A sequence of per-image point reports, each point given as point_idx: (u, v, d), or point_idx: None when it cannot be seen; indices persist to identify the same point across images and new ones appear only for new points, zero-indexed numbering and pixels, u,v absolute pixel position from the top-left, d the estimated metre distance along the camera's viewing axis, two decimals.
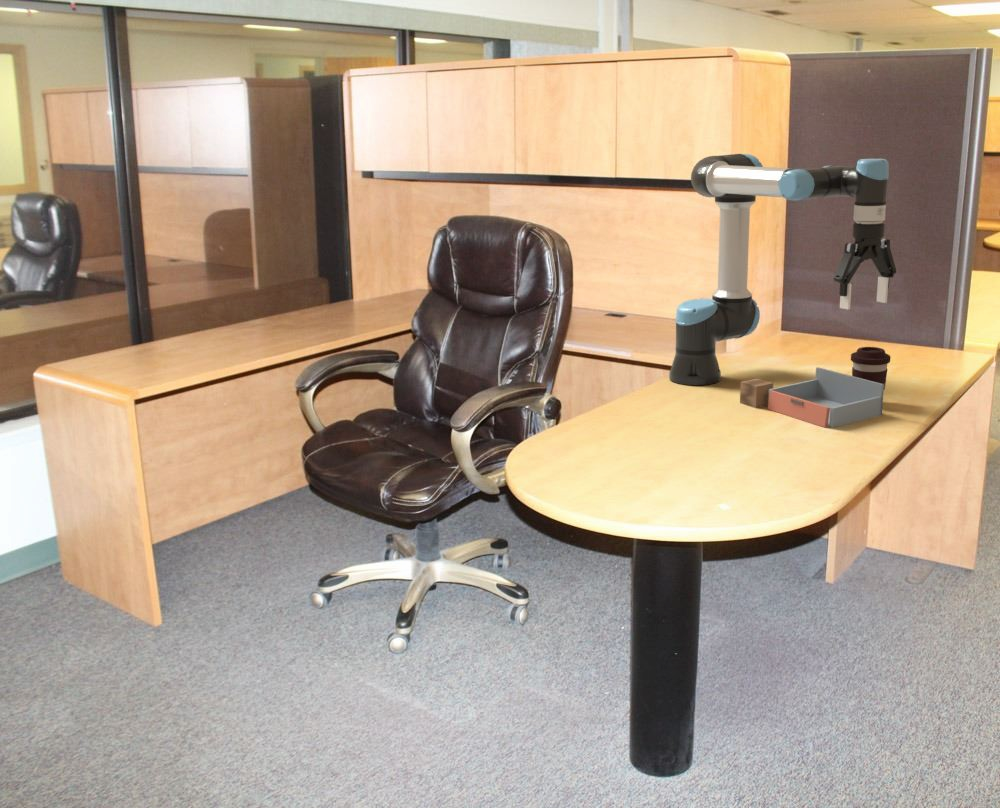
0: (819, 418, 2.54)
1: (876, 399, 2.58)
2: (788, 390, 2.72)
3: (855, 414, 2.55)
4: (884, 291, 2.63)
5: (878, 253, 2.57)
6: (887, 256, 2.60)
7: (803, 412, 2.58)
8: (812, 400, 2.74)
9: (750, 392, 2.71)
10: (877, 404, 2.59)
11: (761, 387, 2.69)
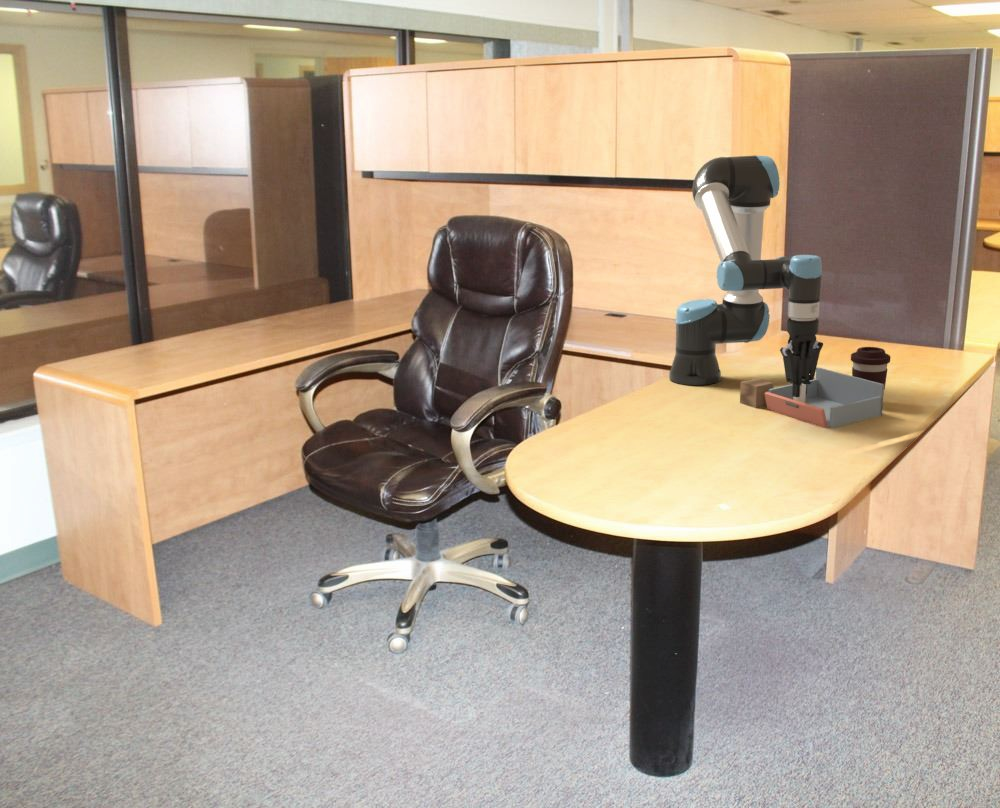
0: (817, 420, 2.53)
1: (876, 399, 2.58)
2: (788, 390, 2.72)
3: (855, 414, 2.55)
4: None
5: (809, 350, 2.55)
6: (814, 358, 2.58)
7: (801, 414, 2.58)
8: (812, 400, 2.74)
9: (750, 392, 2.71)
10: (877, 404, 2.59)
11: (761, 387, 2.69)
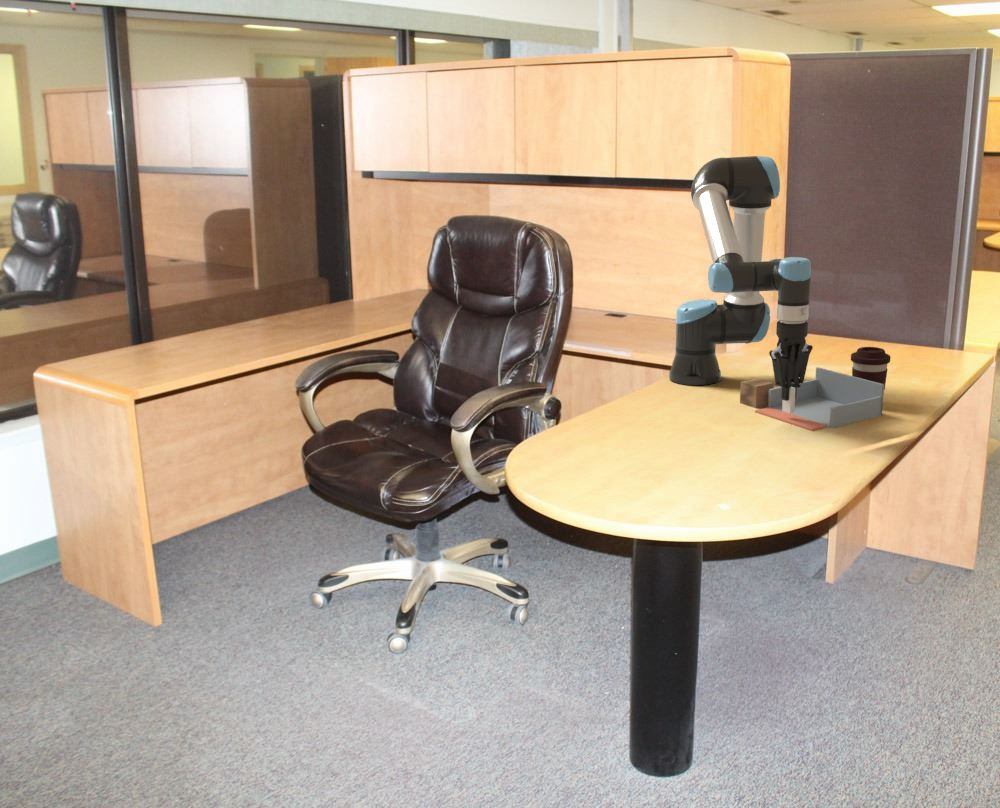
0: None
1: (876, 399, 2.58)
2: None
3: (855, 414, 2.55)
4: None
5: (799, 353, 2.53)
6: (803, 361, 2.56)
7: None
8: (812, 400, 2.74)
9: (750, 392, 2.71)
10: (877, 404, 2.59)
11: (761, 387, 2.69)
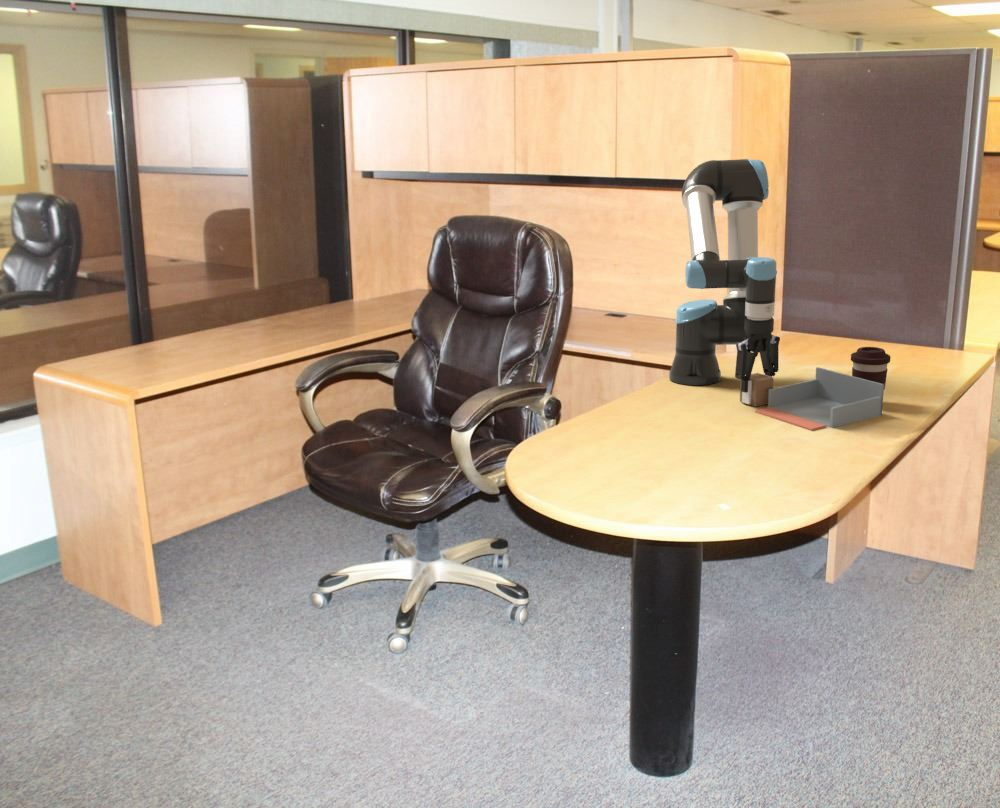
0: None
1: (876, 399, 2.58)
2: (788, 390, 2.72)
3: (855, 414, 2.55)
4: None
5: (767, 347, 2.69)
6: (774, 352, 2.72)
7: None
8: (812, 400, 2.74)
9: None
10: (877, 404, 2.59)
11: (761, 382, 2.70)
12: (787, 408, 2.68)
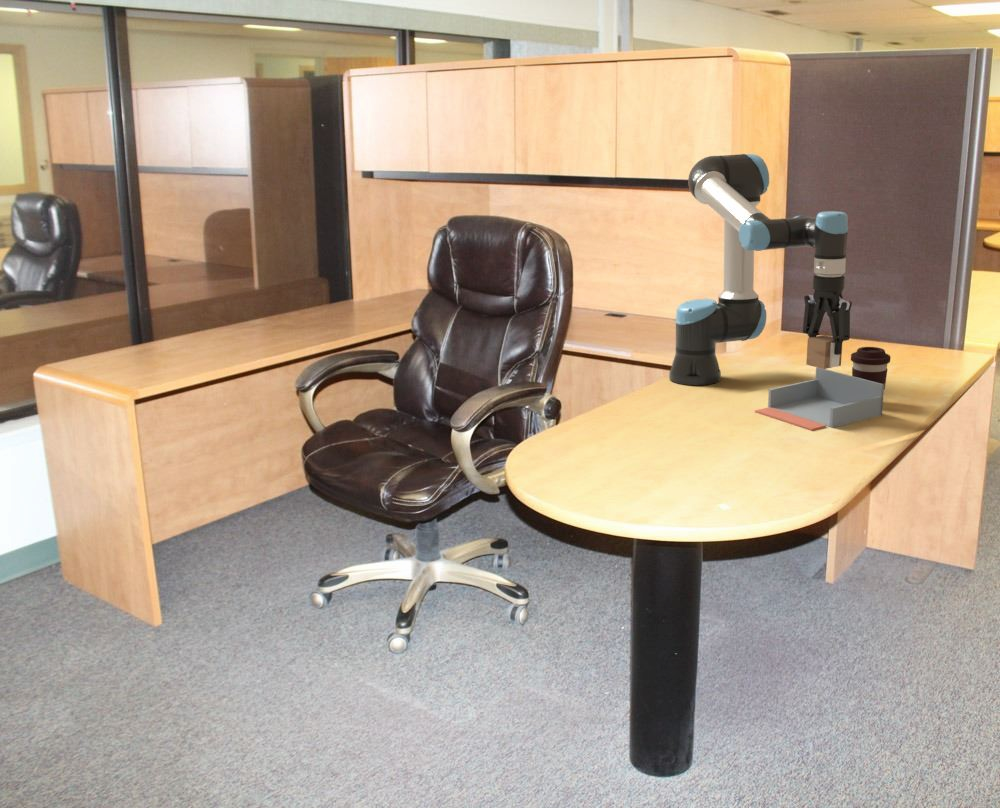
0: None
1: (876, 399, 2.58)
2: (788, 390, 2.72)
3: (855, 414, 2.55)
4: None
5: (827, 308, 2.55)
6: None
7: None
8: (812, 400, 2.74)
9: None
10: (877, 404, 2.59)
11: (812, 340, 2.59)
12: (787, 408, 2.68)
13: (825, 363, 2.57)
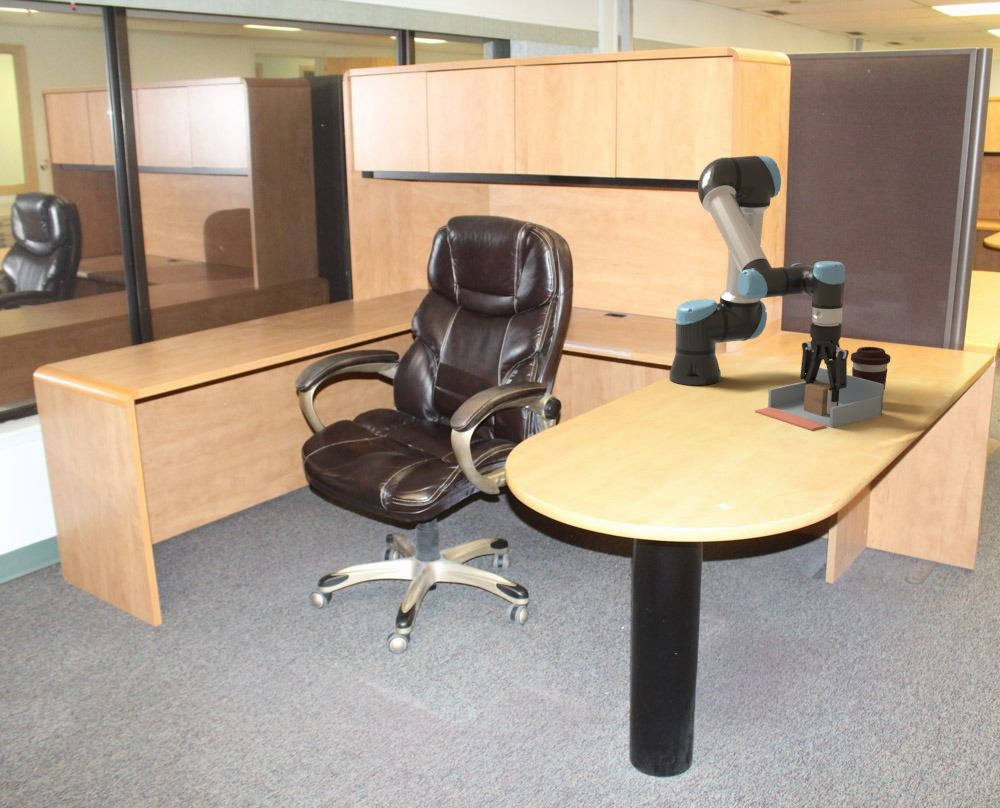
0: None
1: (876, 399, 2.58)
2: (788, 390, 2.72)
3: (855, 414, 2.55)
4: None
5: (824, 356, 2.58)
6: None
7: None
8: None
9: None
10: (877, 404, 2.59)
11: (810, 387, 2.63)
12: (787, 408, 2.68)
13: (822, 410, 2.60)
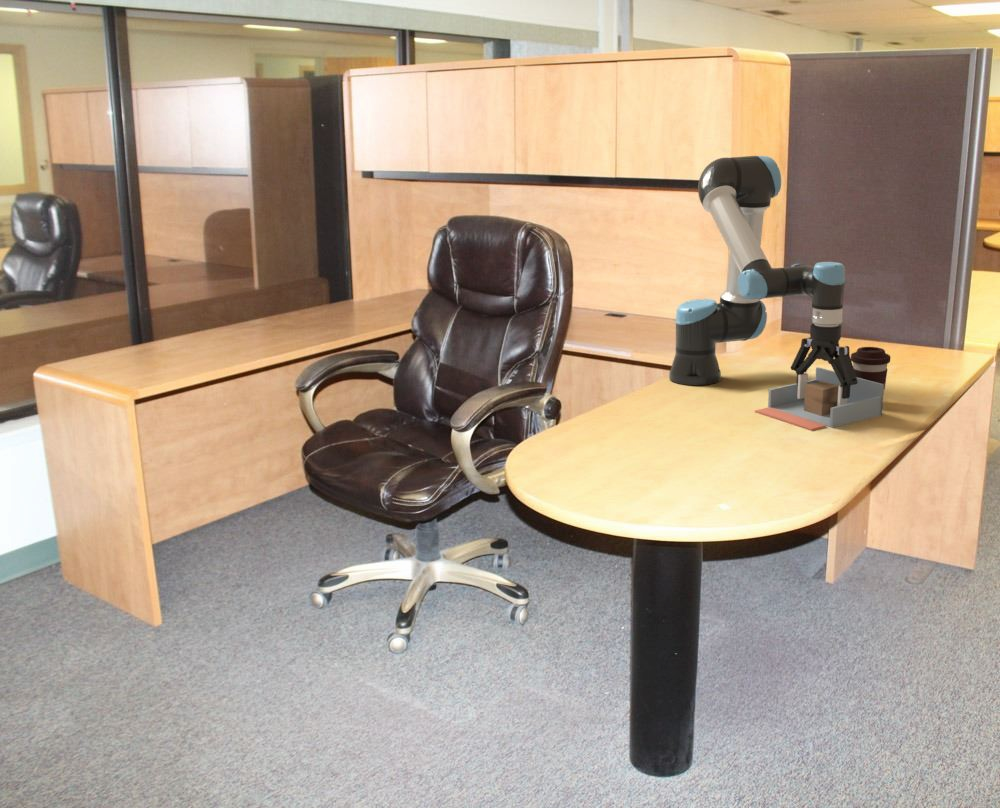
0: None
1: (876, 399, 2.58)
2: (788, 390, 2.72)
3: (855, 414, 2.55)
4: None
5: (826, 356, 2.58)
6: None
7: None
8: None
9: None
10: (877, 404, 2.59)
11: (810, 387, 2.63)
12: (787, 408, 2.68)
13: (822, 410, 2.60)
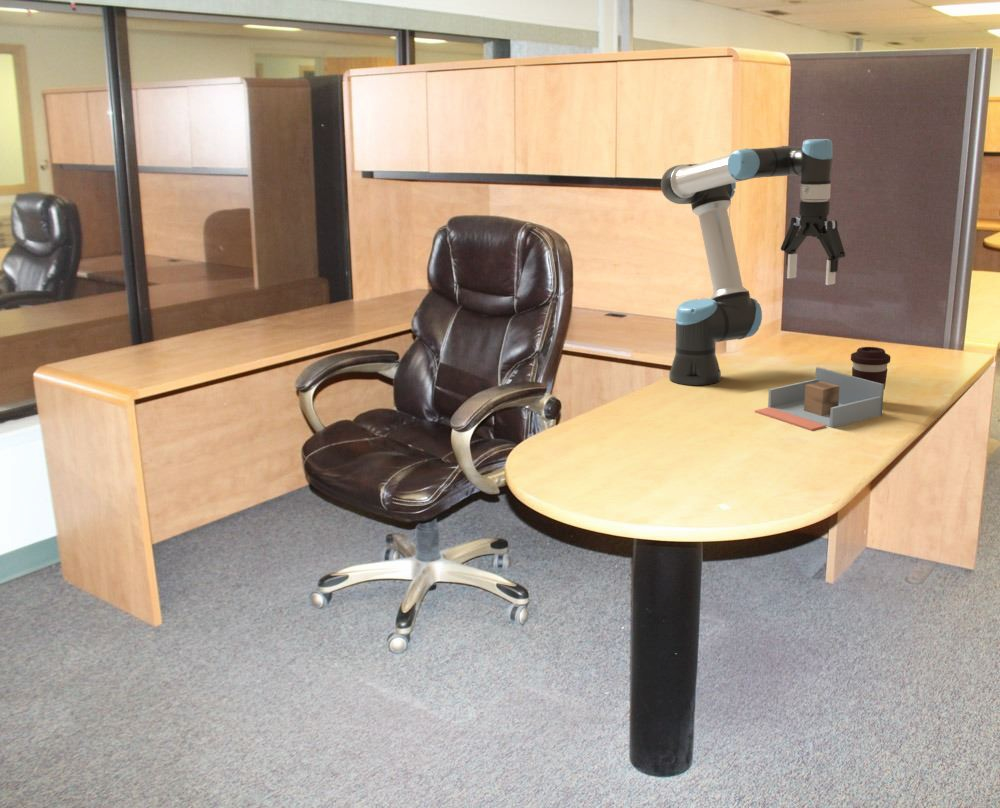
0: None
1: (876, 399, 2.58)
2: (788, 390, 2.72)
3: (855, 414, 2.55)
4: None
5: (815, 232, 2.65)
6: None
7: None
8: None
9: None
10: (877, 404, 2.59)
11: (810, 387, 2.63)
12: (787, 408, 2.68)
13: (822, 410, 2.60)
